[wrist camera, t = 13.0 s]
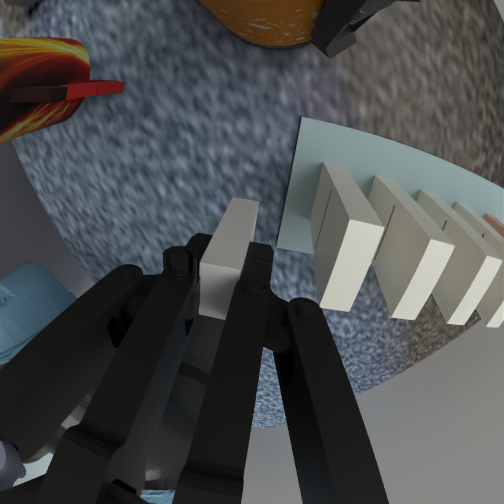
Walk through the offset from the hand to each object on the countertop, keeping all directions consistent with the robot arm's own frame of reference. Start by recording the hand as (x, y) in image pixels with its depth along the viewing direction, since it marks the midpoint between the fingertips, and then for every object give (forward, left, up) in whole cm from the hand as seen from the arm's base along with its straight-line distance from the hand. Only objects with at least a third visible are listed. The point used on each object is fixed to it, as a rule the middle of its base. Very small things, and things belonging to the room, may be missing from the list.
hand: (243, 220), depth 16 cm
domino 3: (+7, -13, -8) cm, 17 cm away
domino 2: (+5, -9, -8) cm, 13 cm away
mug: (-2, +22, -9) cm, 24 cm away
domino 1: (+3, -5, -8) cm, 10 cm away
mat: (+7, -13, -8) cm, 17 cm away
